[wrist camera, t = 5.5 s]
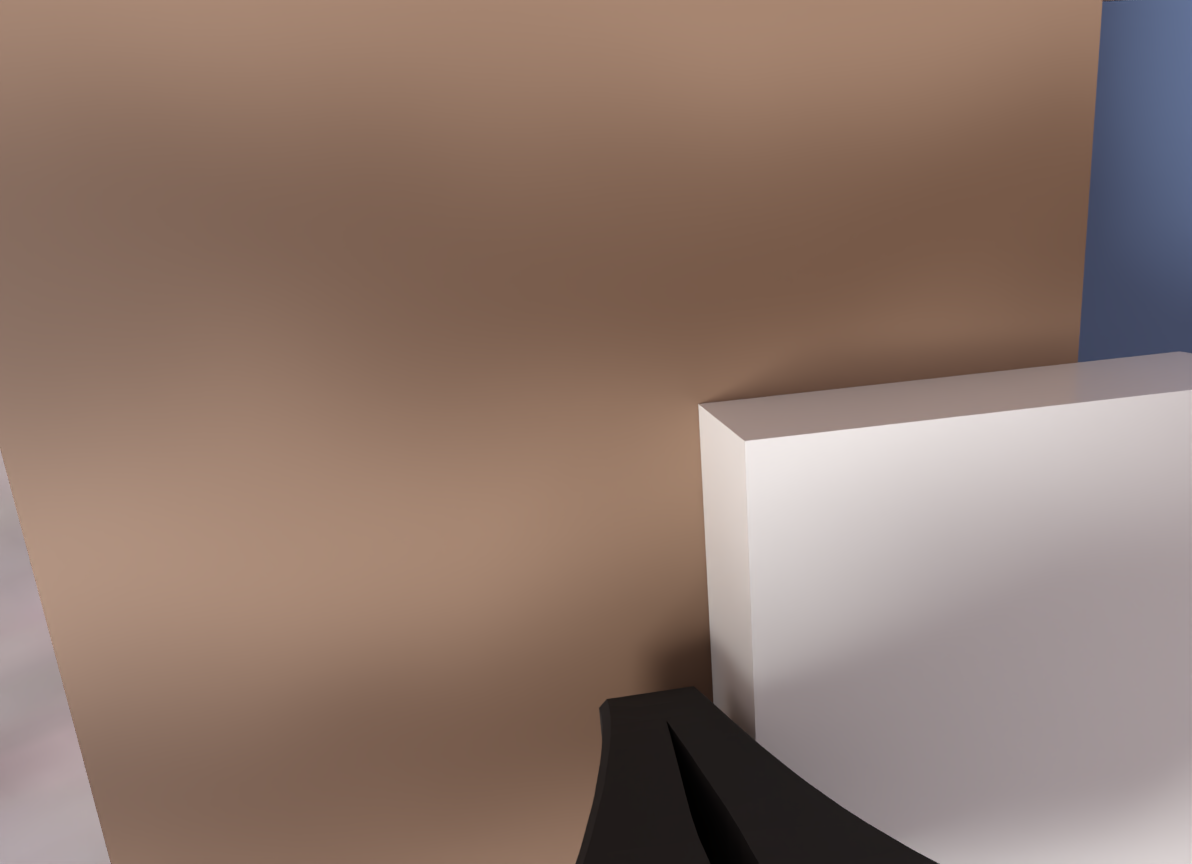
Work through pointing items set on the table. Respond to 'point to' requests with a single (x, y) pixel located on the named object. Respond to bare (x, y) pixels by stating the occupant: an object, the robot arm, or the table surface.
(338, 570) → the stand
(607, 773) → the robot arm
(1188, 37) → the mat
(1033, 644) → the tile
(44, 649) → the table surface
